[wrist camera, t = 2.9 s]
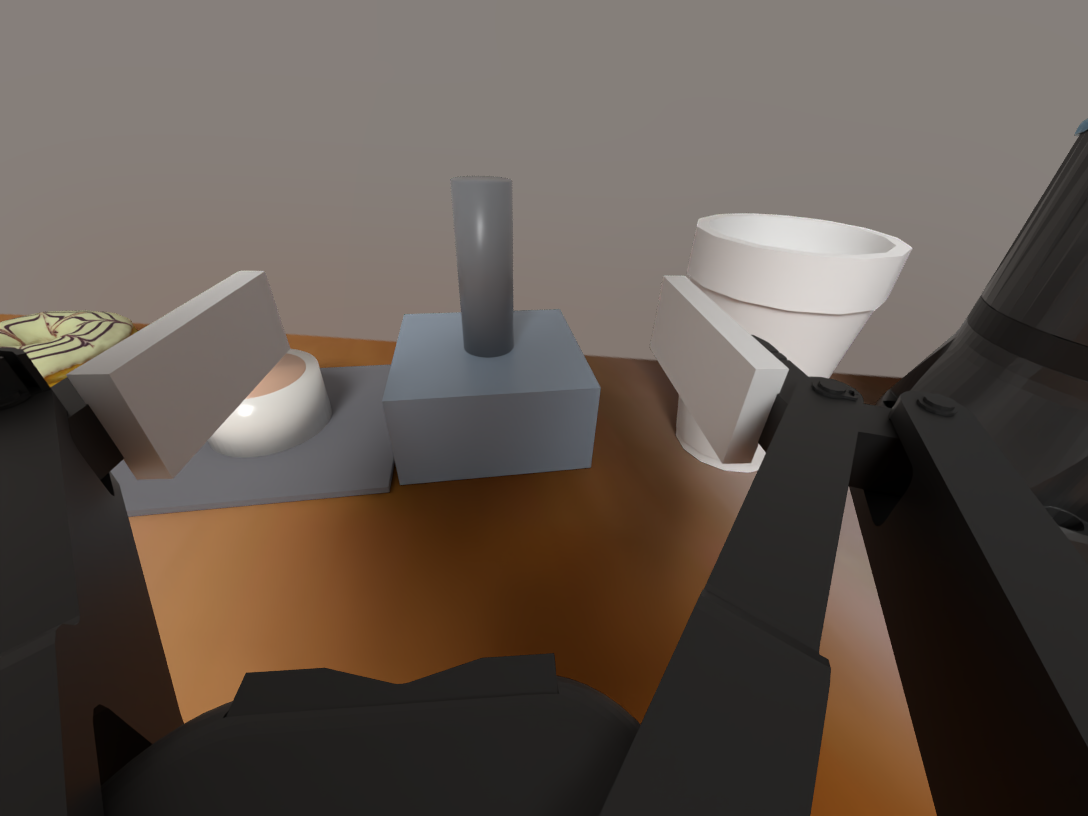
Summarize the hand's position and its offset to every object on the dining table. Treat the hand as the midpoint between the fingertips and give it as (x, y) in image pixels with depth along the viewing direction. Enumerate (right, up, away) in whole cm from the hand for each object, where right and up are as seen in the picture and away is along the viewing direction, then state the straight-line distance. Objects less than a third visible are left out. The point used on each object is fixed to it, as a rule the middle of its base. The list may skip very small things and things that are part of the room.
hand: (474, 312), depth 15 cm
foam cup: (+14, -6, +14) cm, 21 cm away
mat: (-15, -5, +13) cm, 21 cm away
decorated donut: (-34, -1, +18) cm, 39 cm away
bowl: (-15, -4, +13) cm, 20 cm away
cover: (-1, -4, +14) cm, 15 cm away
